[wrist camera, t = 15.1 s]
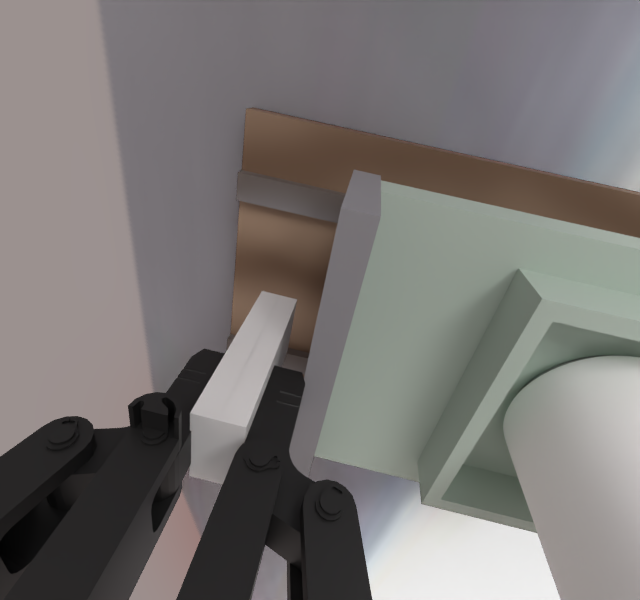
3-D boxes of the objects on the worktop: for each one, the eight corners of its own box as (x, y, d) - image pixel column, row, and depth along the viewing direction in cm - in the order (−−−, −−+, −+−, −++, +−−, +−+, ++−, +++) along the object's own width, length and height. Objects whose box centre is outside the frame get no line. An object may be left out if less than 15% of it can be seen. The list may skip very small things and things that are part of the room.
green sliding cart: (355, 164, 14) (341, 207, 9) (823, 267, 14) (1105, 380, 8) (303, 397, 21) (277, 501, 16) (616, 473, 20) (699, 609, 15)
